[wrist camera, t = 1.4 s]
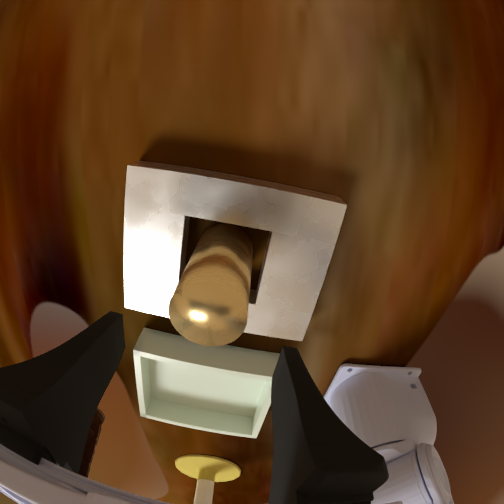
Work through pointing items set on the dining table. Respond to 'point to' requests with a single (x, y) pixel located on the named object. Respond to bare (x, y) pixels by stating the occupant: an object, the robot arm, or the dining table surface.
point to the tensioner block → (233, 212)
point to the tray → (203, 383)
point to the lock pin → (214, 288)
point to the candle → (206, 473)
